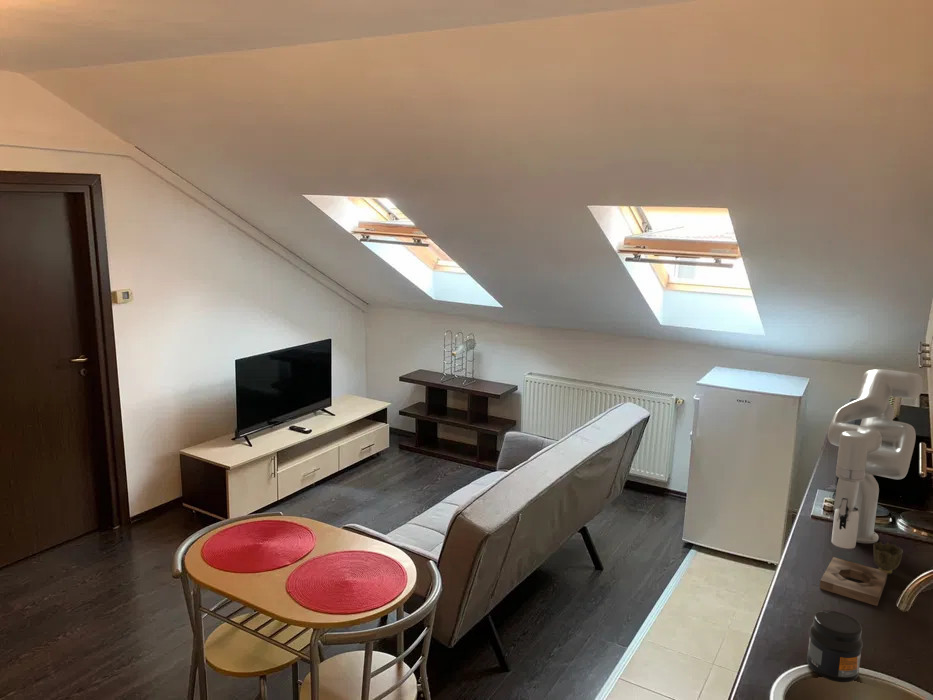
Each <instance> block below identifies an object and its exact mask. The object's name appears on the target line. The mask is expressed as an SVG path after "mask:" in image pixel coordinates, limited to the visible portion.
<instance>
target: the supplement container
mask: <svg viewBox="0 0 933 700" xmlns="http://www.w3.org/2000/svg"><path fill="white" fill-rule="evenodd" d="M812 621H813V622H812V624H811V626H810V627H809V639H808V649H807V654H806V662H807V664H808V666H809V668H810V669H811V670H812V671H813V672H814V673H815V674H817V675H819V676H820V677H822V678H824V679H826V680H829V681H832V682H837V683H850V682H853V681H855V680H856V679H858V677H859V674H860V664H861V657H862V649H863V646H864V642H863V639H862V632H863V627H862V625H861V623H860V622H859V621H858V620H857V619H855V618H853V617H852V616H850V615H848V614H846V613H843V612H840V611H835V610H825V609H824V610H820V611H816V612H815V613H814V615H813V620H812Z"/></svg>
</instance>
